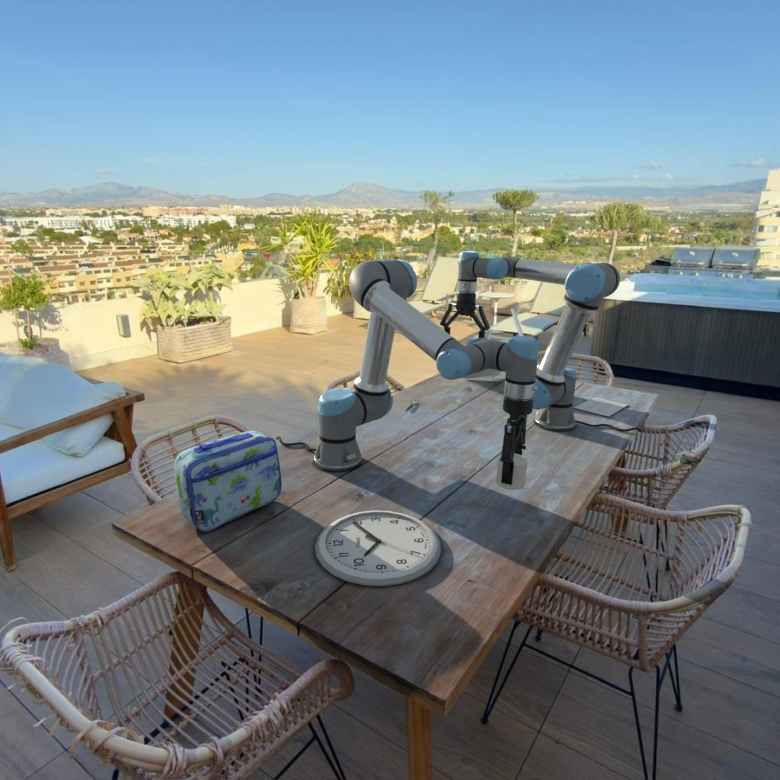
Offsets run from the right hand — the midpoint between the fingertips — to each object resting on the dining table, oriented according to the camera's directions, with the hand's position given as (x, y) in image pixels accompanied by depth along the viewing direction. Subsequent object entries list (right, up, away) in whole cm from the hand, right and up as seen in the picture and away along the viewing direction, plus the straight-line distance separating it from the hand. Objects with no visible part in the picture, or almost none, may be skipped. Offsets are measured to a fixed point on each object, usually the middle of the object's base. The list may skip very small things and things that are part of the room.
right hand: (463, 345), depth 212 cm
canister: (+3, -44, -70) cm, 82 cm away
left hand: (+3, -42, -70) cm, 82 cm away
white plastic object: (+23, -16, +42) cm, 50 cm away
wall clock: (-33, -56, -87) cm, 108 cm away
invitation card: (+62, -26, +15) cm, 68 cm away
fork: (-20, -25, +11) cm, 34 cm away
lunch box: (-71, -51, -74) cm, 114 cm away
